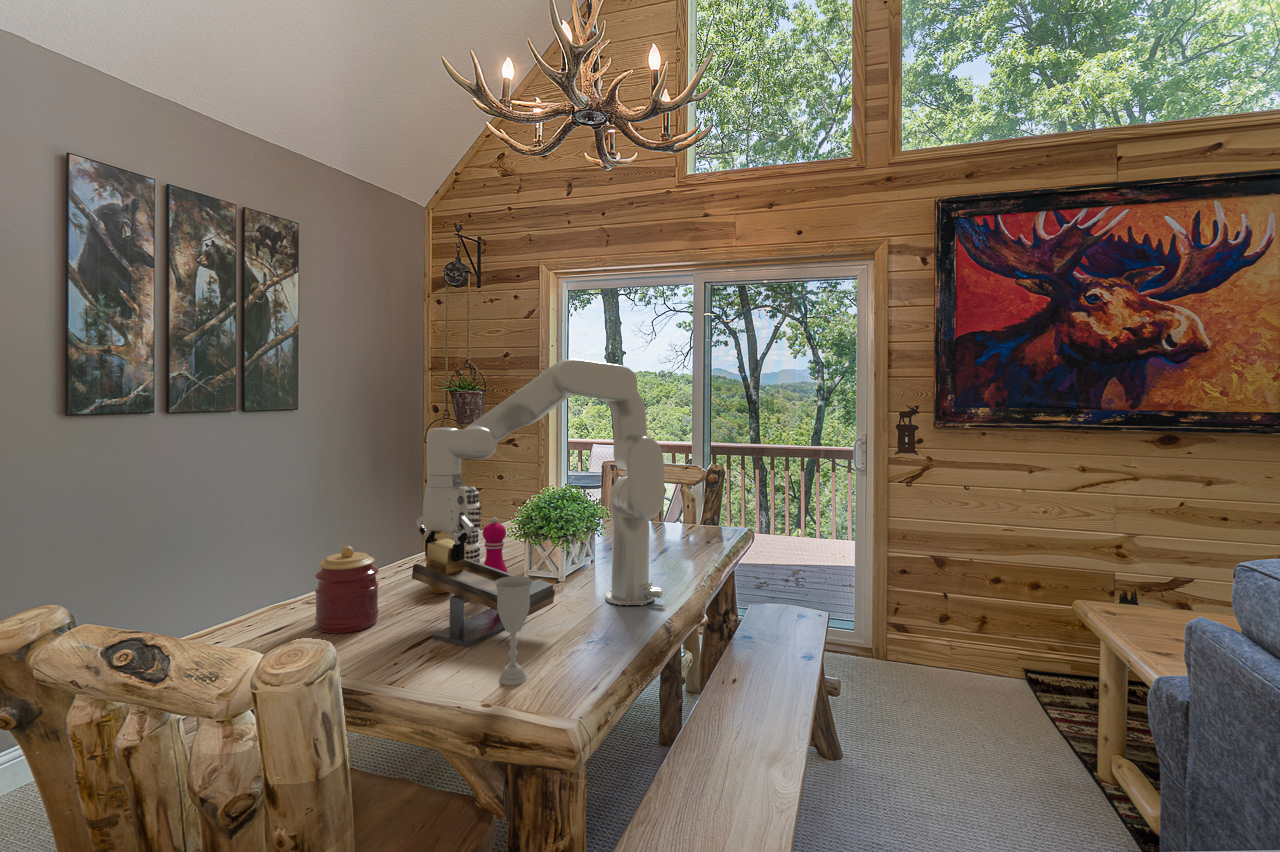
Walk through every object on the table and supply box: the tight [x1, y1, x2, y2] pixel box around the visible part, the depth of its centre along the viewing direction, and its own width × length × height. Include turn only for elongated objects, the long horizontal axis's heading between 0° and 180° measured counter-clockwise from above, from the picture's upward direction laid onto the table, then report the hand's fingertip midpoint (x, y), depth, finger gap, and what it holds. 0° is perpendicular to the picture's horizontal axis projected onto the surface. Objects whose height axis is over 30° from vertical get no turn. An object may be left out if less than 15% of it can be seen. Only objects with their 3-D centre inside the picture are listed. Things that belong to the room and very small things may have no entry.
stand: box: [431, 594, 505, 648], centre depth 142 cm, size 10×20×9 cm, turn 154°
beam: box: [411, 558, 556, 617], centre depth 141 cm, size 30×13×6 cm, turn 65°
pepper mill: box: [482, 517, 509, 573], centre depth 167 cm, size 7×7×20 cm
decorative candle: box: [451, 485, 483, 563], centre depth 187 cm, size 9×9×25 cm
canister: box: [314, 545, 380, 634], centre depth 143 cm, size 13×13×18 cm
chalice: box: [495, 575, 534, 686], centre depth 116 cm, size 7×7×18 cm
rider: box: [425, 537, 466, 575], centre depth 146 cm, size 6×6×6 cm
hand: (444, 557), depth 146 cm, fingers open, 7 cm apart
